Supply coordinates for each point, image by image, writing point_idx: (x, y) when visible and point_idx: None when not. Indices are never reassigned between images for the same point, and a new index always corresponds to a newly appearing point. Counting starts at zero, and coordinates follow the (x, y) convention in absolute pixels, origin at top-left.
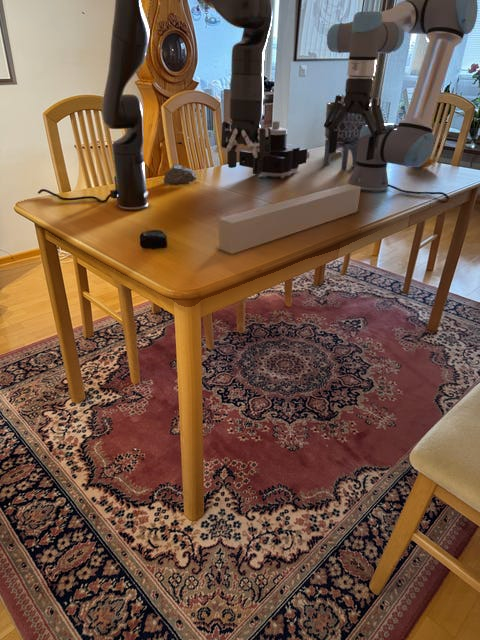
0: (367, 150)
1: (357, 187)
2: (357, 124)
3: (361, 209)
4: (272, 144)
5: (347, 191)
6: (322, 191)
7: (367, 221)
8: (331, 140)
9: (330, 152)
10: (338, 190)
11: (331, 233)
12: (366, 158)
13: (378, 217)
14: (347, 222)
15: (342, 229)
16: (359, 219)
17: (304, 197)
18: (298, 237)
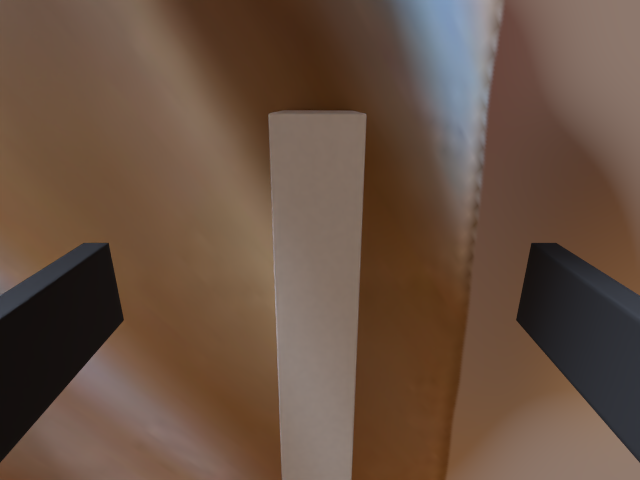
0: (564, 373)
1: (360, 145)
2: None
3: (343, 51)
4: None
5: (360, 248)
6: (286, 353)
7: (453, 193)
8: (42, 408)
9: (117, 325)
10: (326, 283)
11: (423, 387)
12: (525, 327)
13: (464, 104)
14: (401, 262)
15: (429, 335)
16: (416, 195)
17: (300, 470)
18: (373, 470)
